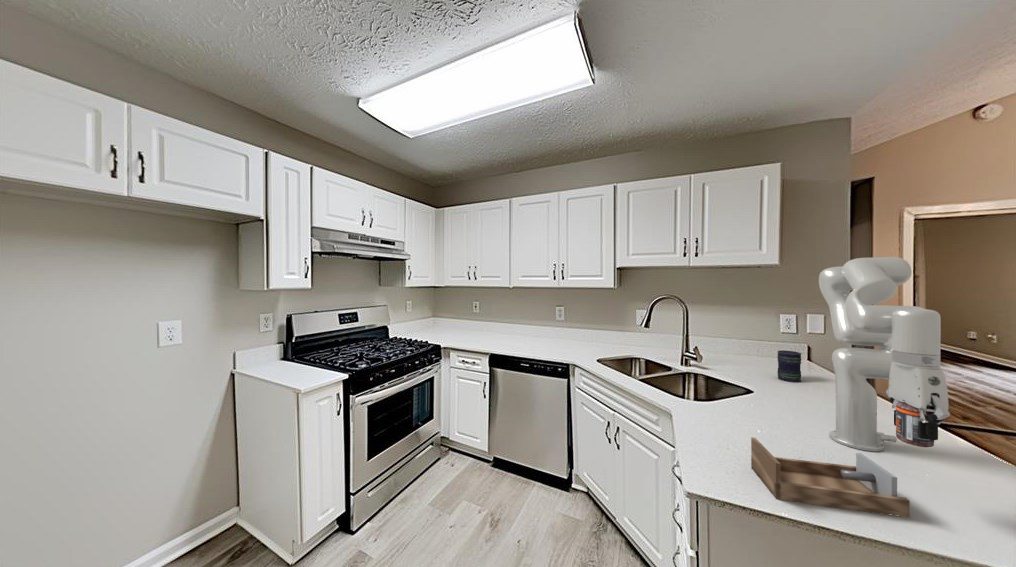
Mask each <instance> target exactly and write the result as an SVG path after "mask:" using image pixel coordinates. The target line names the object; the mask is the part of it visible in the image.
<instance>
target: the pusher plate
mask: <svg viewBox="0 0 1016 567" xmlns="http://www.w3.org/2000/svg"><path fill="white" fill-rule="evenodd" d="M855 455H856V456H855V465H856V472H855V471H847V470H841V476H842V477H843V478H844V479H850V480H858V481H860V482H861V483H862V484H864V485H865V486H866V487H867V488H869V489H870V490H871V491H872V492H874V493H875V494H880V495H888V496H896V497H898V477H897V476H895V475H894V474H892V473H891V472H890V471H888V470H886V468H883V467H882V466H881V465H879V464H878V463H876V462H875V461H873V460H872V459H870V458H868V457H867V455H865V454H864V453H863V454H862V453H859V452H856V453H855Z"/></svg>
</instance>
